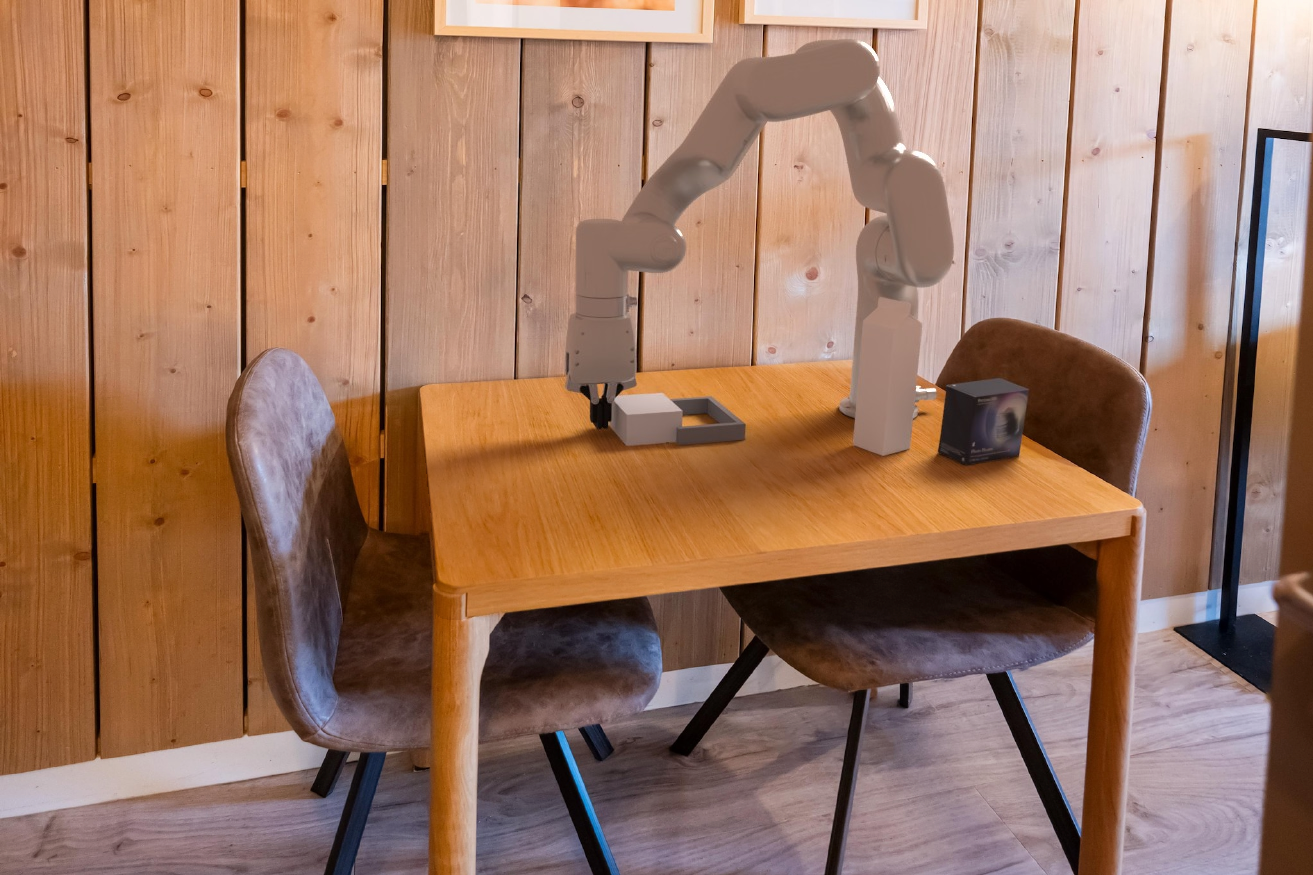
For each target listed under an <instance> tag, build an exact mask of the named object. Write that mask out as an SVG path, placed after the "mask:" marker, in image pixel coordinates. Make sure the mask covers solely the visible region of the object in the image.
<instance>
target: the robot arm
mask: <svg viewBox="0 0 1313 875" xmlns="http://www.w3.org/2000/svg"><path fill="white" fill-rule="evenodd" d="M880 68H881V66H880V61H879V57H878V55H877V54H876V52H875V50H874V49H873V48H872V47H871V46H870V45H869V44H867V43H866V42H864V41H862V40H858V39H853V38H841V39H839V38H838V39H819V40H815V41H814V40H813V41H810V42H808V43H805V44H804V45H802V46H800V47H799V48H797V50H796V51H795V52H794V53H789V54H783V55H776V56H759V57H758V56H756V57H748V58H744V59H741V60H740V61H738V62H737V63H735V64H734V65H733V66H732V67H731V68H730V70H729V71H728V72H727V74H726V75H725V76H724V77H723V79H722V81H721V83H720V84H719V86H718V87H717V88H716V90H715V92H714V94H712V96H711V98H710V100H709V101H708V102H707V104H706V106H705V107H704V109H703V111H702V112H701V114H700V115H699V117H698V118H697V119H696V121H695V123H694V125H693V126H692V128H691V129H690V131H689V133H687V135H686V137H685V138H684V140H683V141H682V143H681V144H680V145H679V146H678V147H677V148H676V149H675V150H674V151H673V152H672V153H671V154H670V155H669V157H667V159H666V160H665V161H664V162H663V163H662V164H661V165H660V167H658V168H657V169H656V171H655V172H653V174H652V175H651V176H650V177H649V178H648V180H647V181H646V182H645V184H644V185H643V187H642V188H641V189H640V191H639V192H638V193H637V195H636V197H635V198H634V200H633V201H632V203H631V205H630V206H629V207H628V209H627V211H626V212H625V214H624V216H623V217H622V219H621V220H618V219H612V218H591V219H590V218H589V219H585V220H582V221H580V222H578V224H577V226H576V229H575V313H574V312H573V313H571V314H570V315H569V318H568V323H567V328H566V329H567V330H566V337H565V339H566V340H565V351H564V372H565V375H566V379H565V384H564V387H565V388H564V389H566V390H567V391H568V392H573V393H579V394H580V393H581V395H583V396H585V397H584V398H586V399H588V400H589V421H590V423H591V424H593V426H594V427H595V428H596V430H598V431H599V430H602V429H604V430H608V429H609V422H611V420H612V403H613V402H614V400H615V398H616V397H617V396H620V394H621V393H622V391H626V390H630V389H633V388H635V387H636V386H637V384H638V383H637V379H636V376H637V368H638V366H637V364H638V363H637V348H636V346H637V345H636V337H635V336H636V335H635V327H634V322H633V317H632V315H631V313H629V312H630V311H629V310H630V309H631V308H632V307H637V305H638V299H637V297H636V296H634V297H632V296H630V295H629V294H628V288H629V286H628V285H629V282H628V281H629V271H631V272H632V271H633V272H641V273H649V274H665V273H668V272H671V271H673V270H674V269H676V268H678V267H679V265H680V264H681V263H682V262H683V261H684V259H685V256H686V252H687V242H686V239H685V236H684V234H683V233H682V231H681V230H680V229H679V227H677V226H676V223H677V222H678V220H679V219H680V218H681V216H682V214H684V213H685V211H686V210H687V209H688V208H689V207H690V206H691V205H692V204H693V203H694V202H695V201H696V200H697V199H698V198H699V197H701V196H702V195H703V194H706V193H707V192H709V191H711V190H713V189H714V188H716V187H719V186H721V185H722V184H724V183H725V182H727V180H729V179H730V178H731V177H732V176H733V175H734V173H735V172H736V171H737V169H738V167H739V166H740V165H741V163H742V162H743V159H745V156H746V155H747V153H748V152H749V150H750V149H751V147H752V146H753V144H755V141H756V139H757V138H758V136H759V135H760V133H761V132H762V130H763V129H764V127H765V126H766V124H767V122H770V123H772V122H774V123H775V122H776V123H777V122H779V123H781V122H785V121H791V120H796V119H799V118H804V117H808V116H809V117H810V116H812V115H817V114H820V113H824V112H828V111H830V112H831V114H832V115H833V117H834V119H835V120H836V123H837V125H838V128H839V131H840V135H841V139H842V142H843V147H844V148H843V149H844V152H845V157H846V163H847V169H848V173H849V180H850V183H851V189H852V193H853V196H854V198H855V199H856V201H857V202H858V203H859V204H860V205H862V207H865V208H866V209H869V210H872V211H875V212H880V213H884V214H885V215H880V216H878V217H875V218H873V219H870V221H868V222H867V223H866V224H865V225H864V226H863V228H862V229H861V231H860V232H859V235H858V237H857V241H856V245H855V246H856V247H855V262H856V264H855V265H856V273H857V302H856V303H857V304H856V305H857V306H856V316H855V326H854V337H853V338H854V339H853V350H852V351H853V352H852V362H851V363H852V364H851V374H850V375H851V377H850V390H849V396H847V397H844V398H842V399H841V400H840V401H839V407H838V408H839V411H840V413H843V414H844V415H845V416H847V417H850V418H853V419H855V414H856V401H857V389H858V377H859V364H860V352H861V340H862V327H863V320H864V319H865V318H866V317H868V316H869V315H870V314H871V313H872V312H873V311H874V310H875V309H876V308H877V307H878V299H879V297H883V298H888V299H892V300H897V301H902V302H906V303H910V305H911V310H910V314H911V315H912V316H913V317H914V318H916V319H917V320H918V315H919V293H918V292H919V291H918V288H921V289H922V288H930V287H933V286H935V285H937V284H938V283H940V282H942V280H943V279H944V278H946V277H947V275H948V273H949V271H950V270H951V267H952V265H953V261H954V260H953V259H954V256H955V253H954V252H955V249H954V248H955V247H954V245H955V244H954V236H953V229H952V223H951V222H952V221H951V217H950V216H951V215H950V211H949V204H948V197H947V192H946V186H945V183H944V179H943V174H942V173H941V171H940V169H939V167H938V165H937V163H935V161H934V160H933V159H932V158H931V157H930V156H928V155H927V154H925V153H923V152H921V151H919V150H914V149H907V148H906V146H905V143H904V139H903V134H902V130H901V126H900V122H899V119H898V115H897V114H898V113H897V110H896V106H895V102H894V100H893V97H892V95H891V93H890V91H889V89H888V87H887V86H886V84H885V82H884V81H883V79H881V77H880V73H881V69H880ZM601 384H602V385H603V388H602V389H603V390H602V395H601V396H600V395H599V390H598V388H599V387H598V385H601ZM937 392H938V391H937V389H936V388H935V387H926V388H922V386H920V385H916V394H915V404H914V414H913V419H915V418H916V417H917V416H918V413H919V407H918V405H916V403H919V402H920V401H932V400H936V399H937V396H938V394H937Z"/></svg>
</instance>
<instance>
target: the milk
mask: <svg viewBox="0 0 1313 875" xmlns="http://www.w3.org/2000/svg"><path fill="white" fill-rule="evenodd" d="M910 310H911V305H910V303H906V302H902V301H897V300H892V299H888V298H883V297H879V299H878V307H877V308H876V309H875V310H874V311H873V312H872V313H871V314H870V315H869V316H868V317H866V318H865V319H864V320H863V327H862V340H861V352H860V364H859V377H858V389H857V401H856V414H855V418H854V425H853V426H854V427H853V428H854V429H853V439H852V440H853V442H852V446H855V447H857V448H859V449H863V450H866V451H868V452H870V453H874V454H876V455H880V456H881V457H884V456H885V457H886V456H889V455H891V454H895V453H900V452H904V451H906V450H910V449H911V445H912V444H911V442H912V433H913V424H914V423H913V421H914V418H913V414H914V404H915V405H916V403H915V394H916V386H917V383H918V382H917V381H918V371H919V362H920V352H921V351H920V350H921V344H922V343H921V340H922V334H923V331H922V330H923V322H921V321H920V320H918V318H917V319H916V318H914V317H913V316H912V315H911V314H910Z"/></svg>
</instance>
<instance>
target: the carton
mask: <svg viewBox="0 0 1313 875" xmlns="http://www.w3.org/2000/svg"><path fill="white" fill-rule="evenodd" d="M670 399H671V398H669V397H668V396H667V395H666V394H665V393H663V392H656V393H641V394H640V393H637V394H622V395H620V394H619V395H618V396H617V397H616V398H615V400H614V402H613V403H612V420H611V422H608V427H610V428H611V430H612V431H613V432H614V433H615V434H616V435H617V437H618V438H619V439H620V440H621V441H622V442H623V443H624V445H625V446H626V447H630V446H641V445H653V444H654V445H656V444H667V443H666V442H669V443H676V432H677V427H682V426H683V415H682V414H683V411H682V410H681V409H680V408H679V407H678V406H677V405H675V404H674V403H673V402H672V401H671V400H670Z"/></svg>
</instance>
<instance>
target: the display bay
mask: <svg viewBox="0 0 1313 875" xmlns="http://www.w3.org/2000/svg"><path fill="white" fill-rule="evenodd" d="M669 399H670V400H671V401H672V402H673V403H674V404H675V405H677V406H678V407H679V408H680V409H681V410H682V411H683V414H682V416H688V415H701V414H702V415H703V414H708V415H709V416H710V417H711V418H712V419H714V420H715V421H716V422H717V423H711V424H699V425H698V424H697V425H696V424H695V425H686V426H685V425H684V426H683V425H682V427H677V432H676V442H675V443H676V445H678V446H683V445H696V444H697V445H698V444H707V443H708V444H709V443H720V442H734V441H745V440H746V425H747V424H746V423H745V422H744V421H743V420H742V419H740V418H739V417H738V416H736V414H734V413H733V412H732V411H731V410H729V409H728V408H727V407H726V406H724V405H723V404H722V403H721V402H720V401H718V400H717V399H716V398H715V397H713V396H712V395H711V396H696V397H682V398H679V397H678V398H669Z"/></svg>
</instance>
